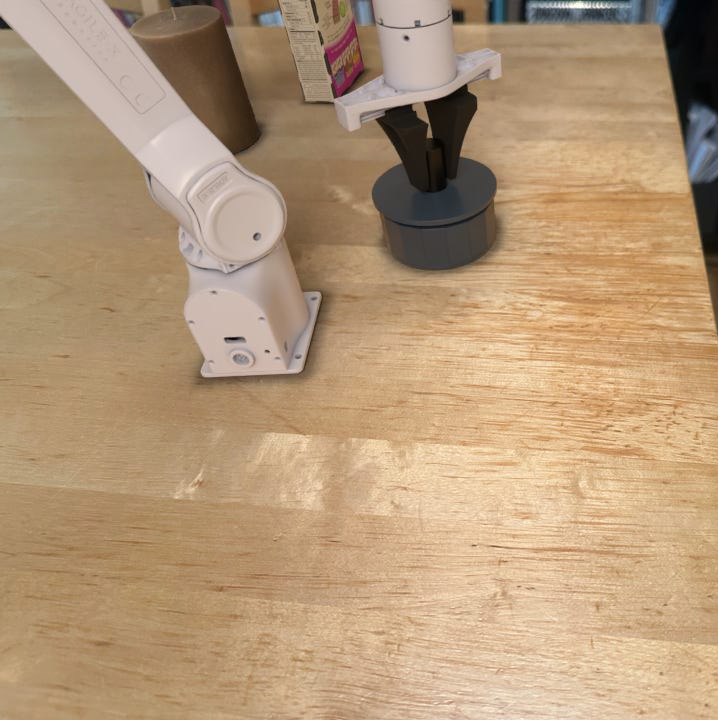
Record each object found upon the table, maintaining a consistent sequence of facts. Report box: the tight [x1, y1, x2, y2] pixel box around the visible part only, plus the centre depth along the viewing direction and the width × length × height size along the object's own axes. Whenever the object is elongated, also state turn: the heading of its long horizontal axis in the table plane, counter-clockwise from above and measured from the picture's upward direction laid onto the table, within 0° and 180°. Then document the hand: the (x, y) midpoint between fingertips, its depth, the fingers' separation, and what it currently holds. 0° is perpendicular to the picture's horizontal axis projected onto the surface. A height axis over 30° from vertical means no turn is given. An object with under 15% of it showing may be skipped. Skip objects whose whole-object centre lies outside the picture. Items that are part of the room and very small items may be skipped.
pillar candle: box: [129, 4, 261, 155], centre depth 74 cm, size 10×10×15 cm
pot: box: [378, 198, 497, 271], centre depth 61 cm, size 10×10×4 cm
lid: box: [371, 137, 498, 226], centre depth 57 cm, size 11×11×5 cm
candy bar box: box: [276, 0, 365, 104], centre depth 83 cm, size 11×5×16 cm, turn 168°
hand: (433, 180), depth 58 cm, fingers closed on lid, 2 cm apart
